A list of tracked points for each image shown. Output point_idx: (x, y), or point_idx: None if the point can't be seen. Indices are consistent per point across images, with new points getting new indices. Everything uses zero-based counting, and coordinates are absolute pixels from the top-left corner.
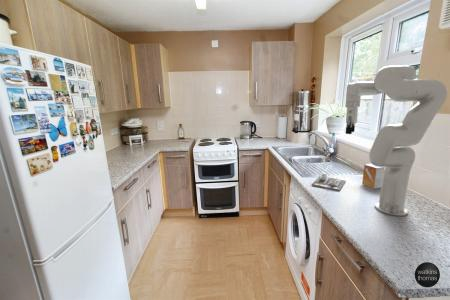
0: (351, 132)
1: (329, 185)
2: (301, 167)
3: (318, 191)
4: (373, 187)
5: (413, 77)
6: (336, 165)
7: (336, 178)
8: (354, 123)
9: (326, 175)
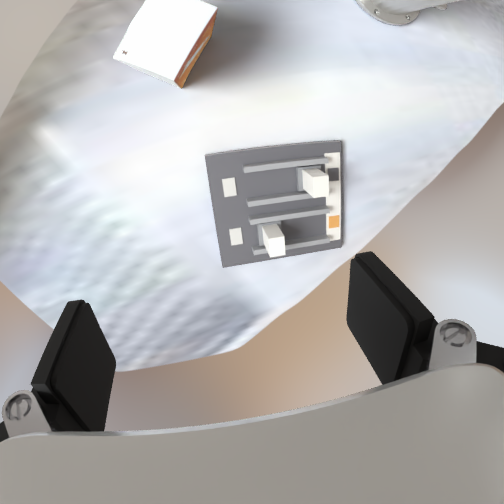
0: (381, 264)
1: None
2: (147, 365)
3: (377, 203)
4: (210, 37)
5: None
6: (8, 281)
7: (316, 176)
8: (474, 363)
9: (270, 233)
